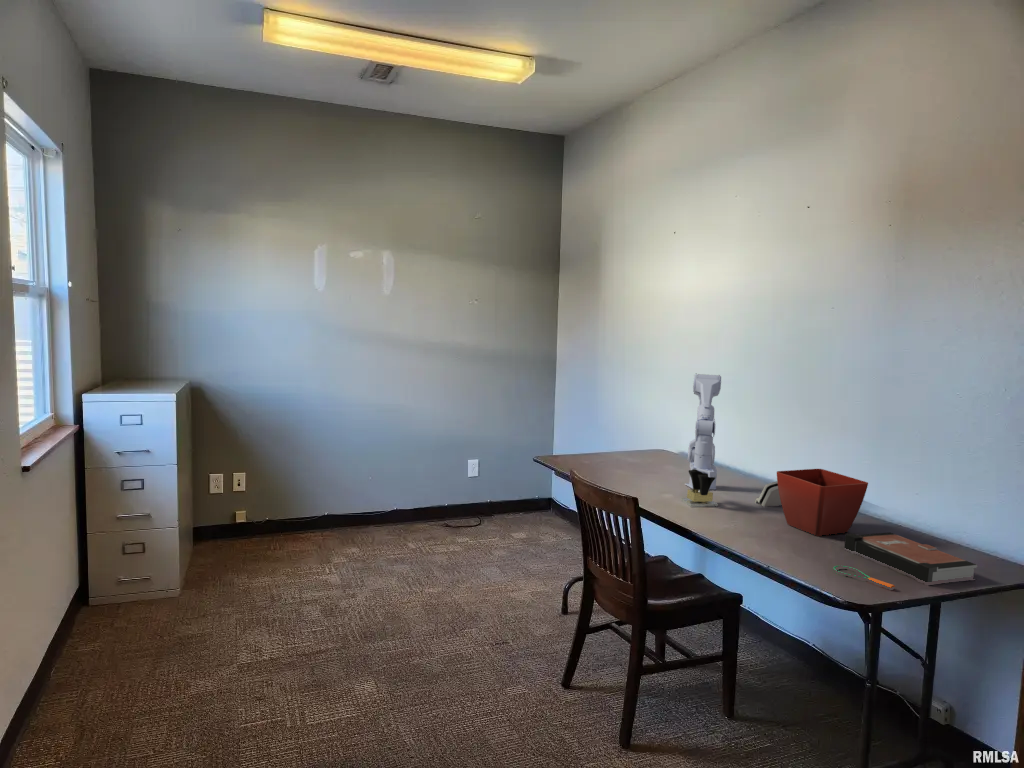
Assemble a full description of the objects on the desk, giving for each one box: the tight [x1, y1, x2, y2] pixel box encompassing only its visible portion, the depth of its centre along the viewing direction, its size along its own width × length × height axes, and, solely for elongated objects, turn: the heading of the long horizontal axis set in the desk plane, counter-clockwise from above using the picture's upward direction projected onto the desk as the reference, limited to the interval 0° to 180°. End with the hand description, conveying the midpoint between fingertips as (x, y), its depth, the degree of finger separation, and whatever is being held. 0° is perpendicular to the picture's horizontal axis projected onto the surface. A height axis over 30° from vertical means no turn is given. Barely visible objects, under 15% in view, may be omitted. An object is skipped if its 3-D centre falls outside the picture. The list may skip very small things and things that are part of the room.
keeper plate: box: [681, 489, 719, 508], centre depth 233 cm, size 10×7×5 cm
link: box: [686, 488, 714, 502], centre depth 233 cm, size 7×5×3 cm
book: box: [843, 532, 978, 582], centre depth 182 cm, size 26×18×5 cm
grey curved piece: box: [754, 480, 782, 507], centre depth 237 cm, size 17×5×10 cm, turn 108°
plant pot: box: [776, 468, 869, 537], centre depth 209 cm, size 19×19×17 cm
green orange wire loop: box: [832, 565, 896, 588], centre depth 169 cm, size 15×6×2 cm, turn 30°
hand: (700, 492), depth 233 cm, fingers closed on link, 5 cm apart
